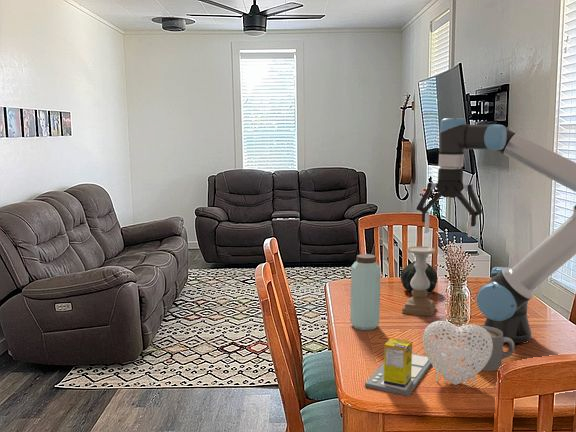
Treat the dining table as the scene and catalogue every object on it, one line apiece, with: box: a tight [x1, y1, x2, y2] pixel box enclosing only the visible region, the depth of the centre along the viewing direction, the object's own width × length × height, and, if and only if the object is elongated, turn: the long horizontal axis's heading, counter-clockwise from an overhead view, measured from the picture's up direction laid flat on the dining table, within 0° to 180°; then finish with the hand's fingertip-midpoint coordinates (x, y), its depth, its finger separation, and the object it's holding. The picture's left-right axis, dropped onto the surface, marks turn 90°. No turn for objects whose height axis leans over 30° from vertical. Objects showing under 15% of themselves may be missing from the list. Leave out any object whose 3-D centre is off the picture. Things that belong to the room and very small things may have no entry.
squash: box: [400, 260, 438, 294], centre depth 245 cm, size 14×15×15 cm
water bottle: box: [349, 253, 382, 331], centre depth 202 cm, size 10×10×25 cm
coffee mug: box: [466, 325, 515, 372], centre depth 171 cm, size 13×10×10 cm
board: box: [364, 353, 432, 397], centre depth 165 cm, size 12×26×1 cm, turn 152°
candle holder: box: [401, 245, 437, 317], centre depth 219 cm, size 11×11×24 cm
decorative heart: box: [422, 320, 493, 386], centre depth 157 cm, size 18×11×17 cm, turn 69°
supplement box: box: [383, 337, 413, 387], centre depth 156 cm, size 6×6×11 cm
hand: (447, 234), depth 187 cm, fingers open, 13 cm apart
